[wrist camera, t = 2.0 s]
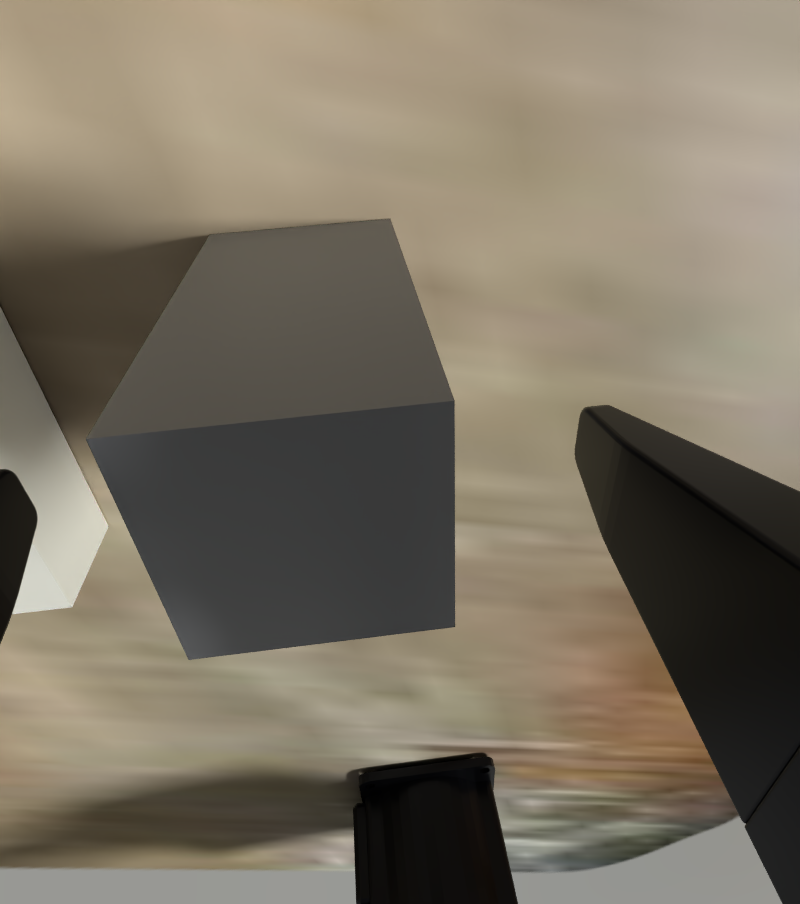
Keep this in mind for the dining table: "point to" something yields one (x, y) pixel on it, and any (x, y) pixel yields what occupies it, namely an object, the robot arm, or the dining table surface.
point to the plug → (289, 445)
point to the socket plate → (45, 487)
